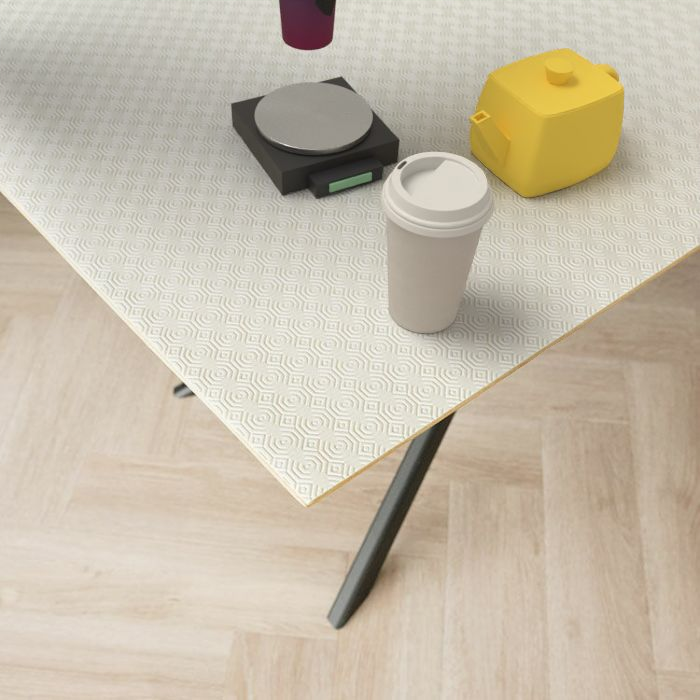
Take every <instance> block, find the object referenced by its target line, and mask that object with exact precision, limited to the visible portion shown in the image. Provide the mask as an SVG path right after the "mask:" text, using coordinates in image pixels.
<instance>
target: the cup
mask: <svg viewBox="0 0 700 700" xmlns="http://www.w3.org/2000/svg"><path fill="white" fill-rule="evenodd" d="M315 1H316V0H278V6H279V17H280V18H279V19H280V27H281V28H280V29H281V35H282V36H281V38H282V41H283V43H284V44H286V45H287V46H288V47H291V48H292V49H296V50H299V51H316V50H317V51H318V50H321V49H324V48H326V47H328V46H329V45H330V44H331V43H332V42H333V40H334V30H335V29H334V28H335V17H336V8H337V7H336V6H337V1H336V2H335V5H334V8H333V11H332V15H331V16H328V15H324V14H323V13H322V12H321V11H320V9H319V8H318V7H317V6H316V5H315Z"/></svg>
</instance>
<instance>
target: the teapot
mask: <svg viewBox="0 0 700 700" xmlns="http://www.w3.org/2000/svg"><path fill="white" fill-rule="evenodd" d="M624 107H625V87H624V85H623V84H622V83H620V76H619V73H618V72H617V70H616V69H615V68H613V66H611V65H609V64H607V63H598V64H595V63H593V62H591V61H590V60H588V59H587V58H586V57H584V56H582V55H580V54H579V53H577V52H576V51H574V50H572V49H570V48H568V47H567V48H565V47H564V48H558V49H553V50H549V51H545V52H541V53H538V54H534V55H531V56H527V57H523V58H521V59H519V60H515V61H513V62H511V63H508V64H505V65H502V66H501V67H499V68H496V69H494V70H492V71H491V72H490V73H489V74H488V76H487V78H486V80H485V82H484V84H483V87H482V90H481V93H480V95H479V98H478V100H477V103H476V106H475V109H474V113H473V115H471V116H470V117H469V122H470V129H469V135H468V137H469V140H468V141H469V148H470V152H471V153H472V155H473V156H474V157H475V158H476V159H477V160H478V161H479V162H480V163H482V164H483V166H485V168H487V170H489V171H490V172H491V173H493V175H494V176H495V177H497V178H498V179H500V180H501V181H502V182H503V183H504V184H506V185H507V186H508V187H509V188H510V189H512V190H513V191H514V192H516V193H517V194H518V195H520V196H522V197H523V198H535V197H540V196H544V195H547V194H550V193H553V192H554V193H555V192H556V191H560V190H562V189H566V188H568V187H572V186H574V185H575V184H578V183H581V182H582V181H585V180H587V179H589V178H591V177H592V176H595V175H597V174H598V173H600V172H602V171H603V170H605V169H606V168H607V167H608V166H609V165H610V163H611V162H612V160H613V158H614V157H615V155H616V153H617V150H618V147H619V143H620V138H621V133H622V128H623V120H624V109H625V108H624Z"/></svg>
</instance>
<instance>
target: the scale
mask: <svg viewBox="0 0 700 700" xmlns="http://www.w3.org/2000/svg"><path fill="white" fill-rule="evenodd" d="M318 82H319V83H328V84H333V85H337V86H341V87H344V88H347V89H349V90H351V91H353V92H355V93H357V94H358V92H357V91H356V90H355V89H354V88H353V87H352V85H350V83H349V82H347V80H346V79H345V78H344V77H343V76H342V75H341V76H337V77H333V78H328V79H325V80H321V81H318ZM266 95H267V94H265V95H260V96H256V97H252V98H248V99H244V100H243V99H242V100H240V101H236V102H232V103H230V105H231V106H230V108H231V110H230V111H231V122H232V124H231V125H232V127H233V129H234V130H235V132H237V134H238V136H239V137H240V138H241V140H242V142H243V143H244V144H245V146H247V148H248V150H249V151H250V152H251V154H252V155H253V156H254V158H255V159H256V161H257V163H258V164H259V165H260V166H261V167H262V169H263V170H264V172H265V173H266V174H267V176H268V177H269V179H270V180H271V181H272V182H273V185H274V186H275V187H276V189H277V190H278V191H279V192H280V194H281V195H282V196H285V195H289V194H292V193H297V192H299V191H304V190H306V189H308V190H309V192H310V193H311V194H312V195H313V196H314V198H315V199H320V198H323V197H327V196H329V195H330V196H331V195H334V194H336V193H341V192H345V191H347V190H351V189H354V188H358V187H361V186H364V185H368V184H372V183H376V182H379V181H382V180H383V179H384V178H383V177H384V176H383V175H384V167H387V166H390V165H394V164H397V163H398V162H399V152H400V151H399V150H400V139H399V138H398V136H397V135H396V134H395V133H394V132H393V131H392V130H391V128H389V126H388V125H387V124H386V123H385V121H383V120H382V119H381V117H379V116H378V114H377V113H376V112H375V111H374V110H373V109H372V108H371V110H372V114H373V123H372V128H371V131H370V133H369V134H368V136H367V137H366V138H365V139H364V140H363V141H362V142H360V143H359V144H358V145H356V146H354V147H352V148H350V149H348V150H345V151H342V152H338V153H334V154H328V155H301V154H296V153H291V152H287V151H284V150H282V149H279V148H277V147H275V146H273V145H271V144H270V143H268V142H267V141H266V140H265V139H263V138H262V136H261V135H260V134H259V132H258V131H257V129H256V126H255V117H254V115H255V110H256V107H257V105H258V103H259V102H260V101H261V100H262V98H264V97H265V96H266Z"/></svg>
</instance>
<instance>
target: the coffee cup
mask: <svg viewBox="0 0 700 700" xmlns="http://www.w3.org/2000/svg"><path fill="white" fill-rule="evenodd" d="M379 201H380V206H381V208H382V210H383V212H384V213H385V222H386V223H385V225H386V255H387V258H386V260H387V263H386V264H387V298H388V299H387V300H388V312H389V315H390V317H391V318H392V320H393V321H394V322H395V323H396V324H397V325H398V326H400V327H401V328H403V329H404V330H407V331H408V332H409V331H410V332H412V333H417V334H434V333H439V332H441V331H442V332H443V331H444V330H445V329H448V328H449V327H450V326H451V325H453V323H454V322H455V321H456V319H457V316H458V312H459V309H460V307H461V302H462V299H463V295H464V293H465V292H464V291H465V288H466V285H467V282H468V279H469V275H470V272H471V269H472V265H473V261H474V258H475V255H476V251H477V248H478V245H479V242H480V238H481V235H482V232H483V228H484V226H485V225H486V224H487V223H488V222H489V221H490V219H491V218H492V216H493V214H494V210H495V199H494V194H493V191H492V188H491V186H490V184H489V182H488V178H487V176H486V174H485V173H484V171H483V169H482V168H481V167H479V166H478V165H477V164H476V163H475V162H473V161H471V160H470V159H468V158H466V157H464V156H462V155H458V154H455V153H452V152H451V153H450V152H446V151H445V152H444V151H425V152H419V153H415V154H411V155H410V156H406V158H404V159H402V160H401V161H400V162H399V163H398V164H397V165H396V166H395V167H394V169H393V171H392V172H391V173H390V174H388V176H387V178H386V180H385V181H384V183H383V186H382V188H381V190H380V194H379Z"/></svg>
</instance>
